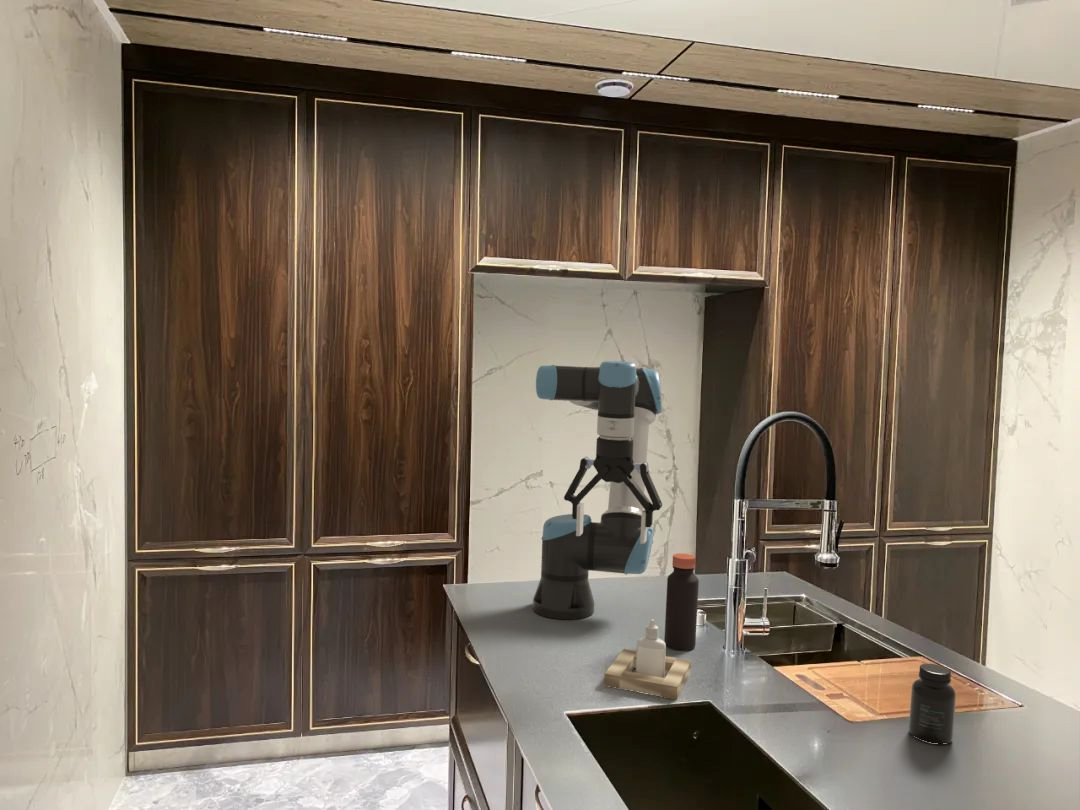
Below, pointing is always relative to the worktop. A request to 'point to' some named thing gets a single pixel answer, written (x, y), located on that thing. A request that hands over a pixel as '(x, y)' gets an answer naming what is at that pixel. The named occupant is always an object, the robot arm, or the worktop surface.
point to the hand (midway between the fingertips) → (611, 538)
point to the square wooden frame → (648, 676)
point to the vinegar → (681, 604)
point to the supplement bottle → (932, 705)
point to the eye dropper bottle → (651, 653)
